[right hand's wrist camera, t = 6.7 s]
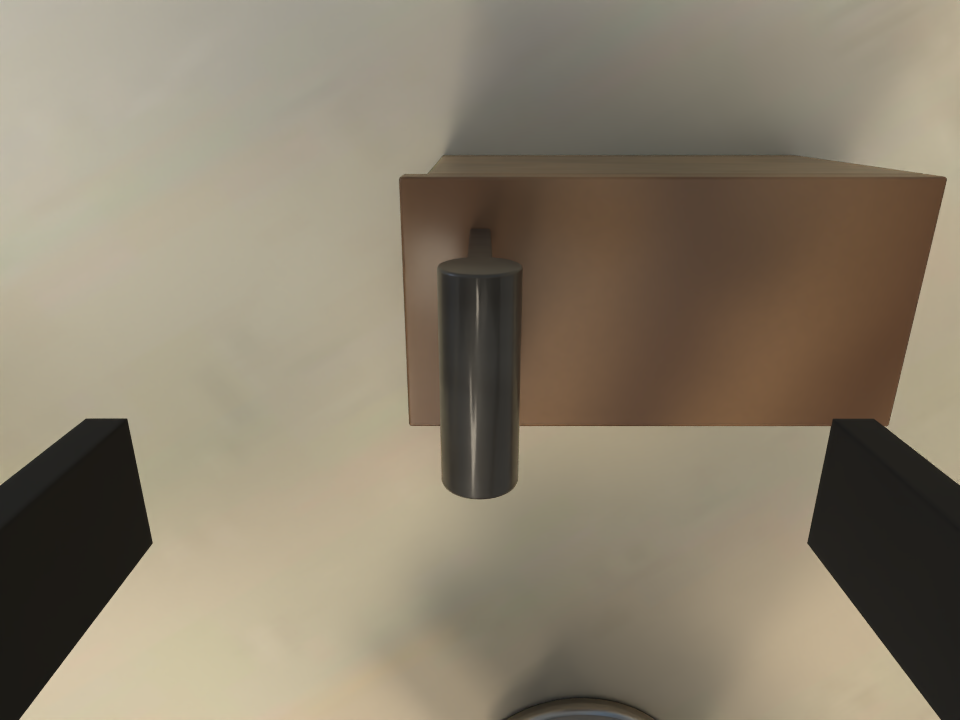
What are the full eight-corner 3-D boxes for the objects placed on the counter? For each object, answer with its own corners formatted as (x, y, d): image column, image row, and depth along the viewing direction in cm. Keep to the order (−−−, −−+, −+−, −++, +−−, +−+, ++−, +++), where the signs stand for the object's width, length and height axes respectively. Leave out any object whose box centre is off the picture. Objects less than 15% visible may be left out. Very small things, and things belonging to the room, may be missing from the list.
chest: (445, 332, 36) (433, 413, 26) (442, 155, 33) (426, 173, 23) (767, 332, 36) (872, 413, 26) (795, 155, 33) (926, 173, 23)
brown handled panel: (411, 414, 26) (380, 548, 18) (402, 173, 23) (360, 207, 15) (872, 414, 26) (1047, 549, 18) (927, 174, 23) (1169, 207, 15)
